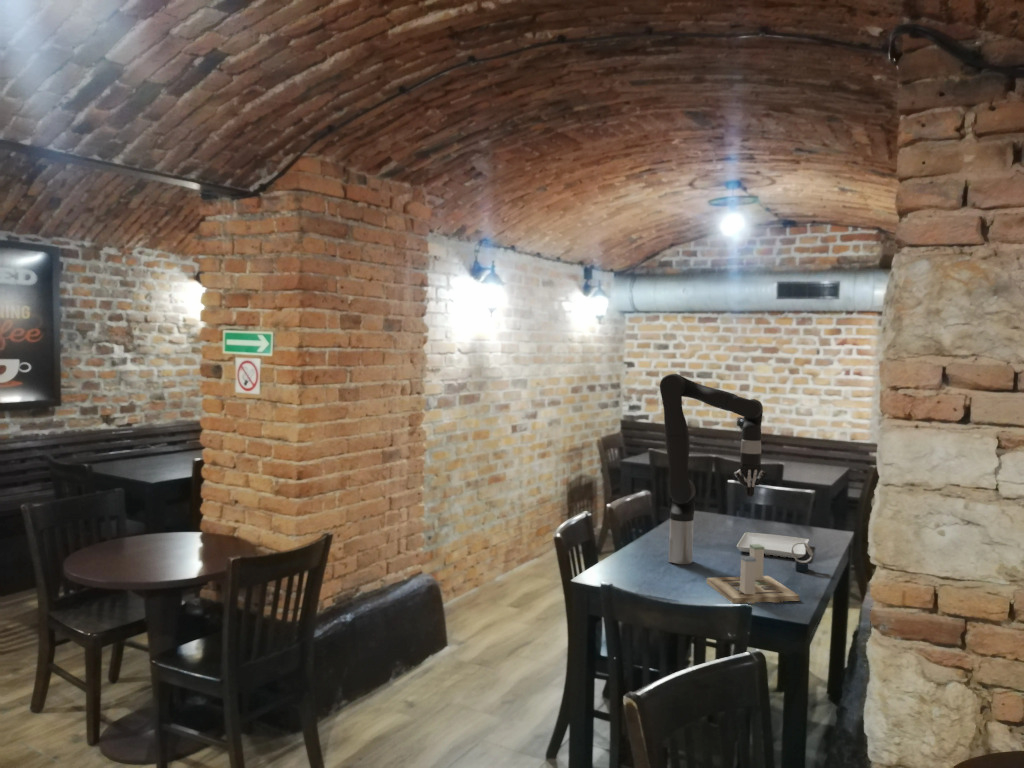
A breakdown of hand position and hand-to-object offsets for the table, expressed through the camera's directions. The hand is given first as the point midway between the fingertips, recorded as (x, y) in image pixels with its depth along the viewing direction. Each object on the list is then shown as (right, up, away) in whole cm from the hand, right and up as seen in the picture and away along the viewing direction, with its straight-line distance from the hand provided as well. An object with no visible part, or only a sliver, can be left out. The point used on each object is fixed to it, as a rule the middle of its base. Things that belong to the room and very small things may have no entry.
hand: (749, 496), depth 292 cm
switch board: (-7, -30, -23) cm, 39 cm away
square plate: (+20, -28, +32) cm, 47 cm away
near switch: (-11, -28, -31) cm, 43 cm away
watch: (+21, -29, +3) cm, 36 cm away
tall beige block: (-3, -27, -16) cm, 32 cm away
